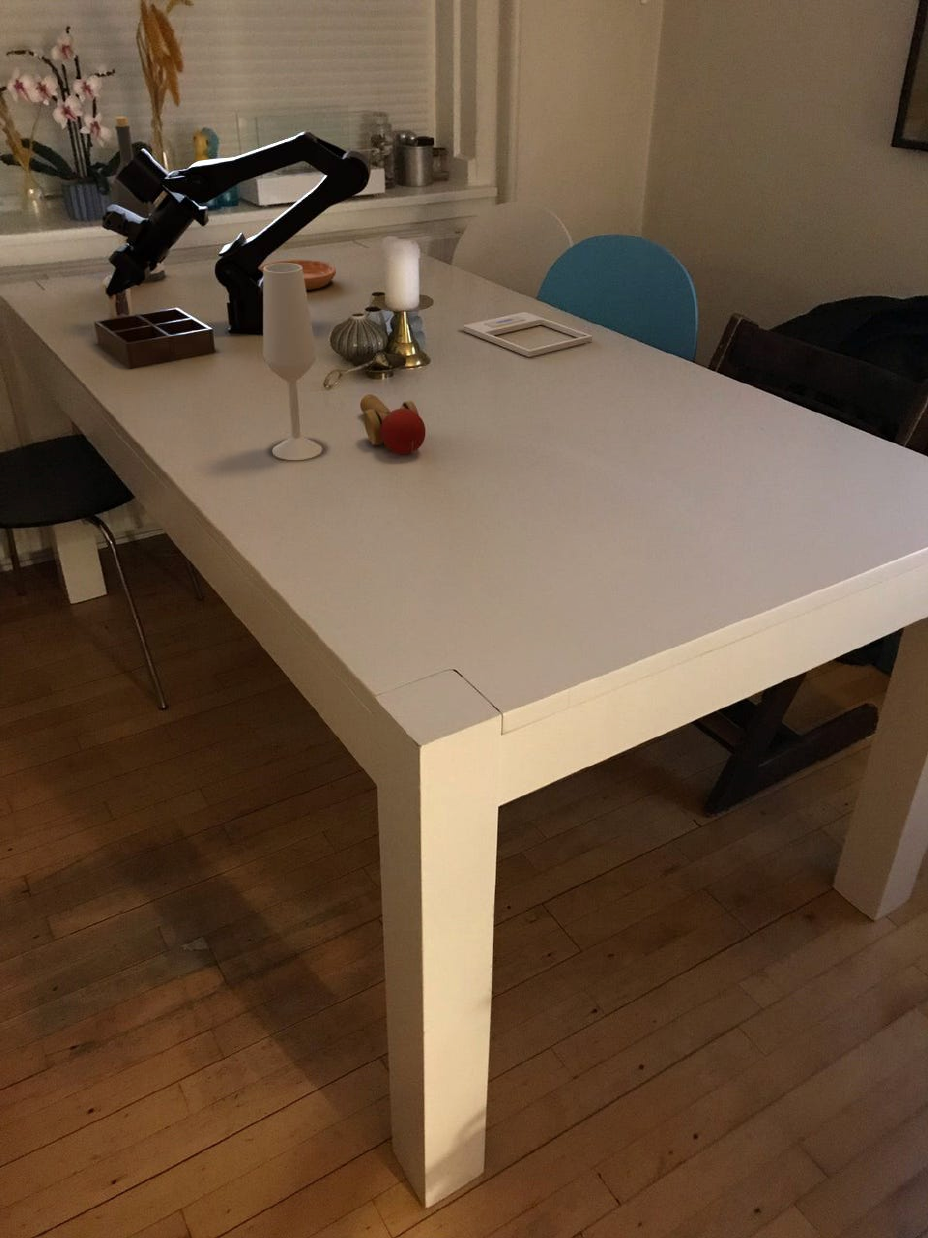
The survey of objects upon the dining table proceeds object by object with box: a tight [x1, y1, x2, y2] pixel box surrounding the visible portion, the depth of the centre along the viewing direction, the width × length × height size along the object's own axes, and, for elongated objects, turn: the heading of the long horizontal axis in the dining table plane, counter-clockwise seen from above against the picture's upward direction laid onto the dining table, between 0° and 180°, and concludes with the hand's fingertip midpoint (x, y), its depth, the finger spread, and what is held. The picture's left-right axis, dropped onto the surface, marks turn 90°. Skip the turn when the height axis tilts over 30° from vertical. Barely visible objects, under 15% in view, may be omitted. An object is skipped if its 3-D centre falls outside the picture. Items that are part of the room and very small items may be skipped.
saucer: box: [259, 259, 337, 291], centre depth 210 cm, size 16×16×3 cm
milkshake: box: [102, 274, 133, 319], centre depth 182 cm, size 4×5×10 cm
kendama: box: [359, 393, 427, 455], centre depth 143 cm, size 8×6×18 cm
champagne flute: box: [262, 263, 323, 461], centre depth 133 cm, size 7×7×24 cm
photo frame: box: [462, 311, 593, 358], centre depth 183 cm, size 15×1×18 cm
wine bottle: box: [111, 116, 166, 284], centre depth 206 cm, size 8×8×30 cm
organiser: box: [94, 307, 216, 369], centre depth 174 cm, size 15×15×4 cm
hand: (112, 290), depth 181 cm, fingers open, 5 cm apart
